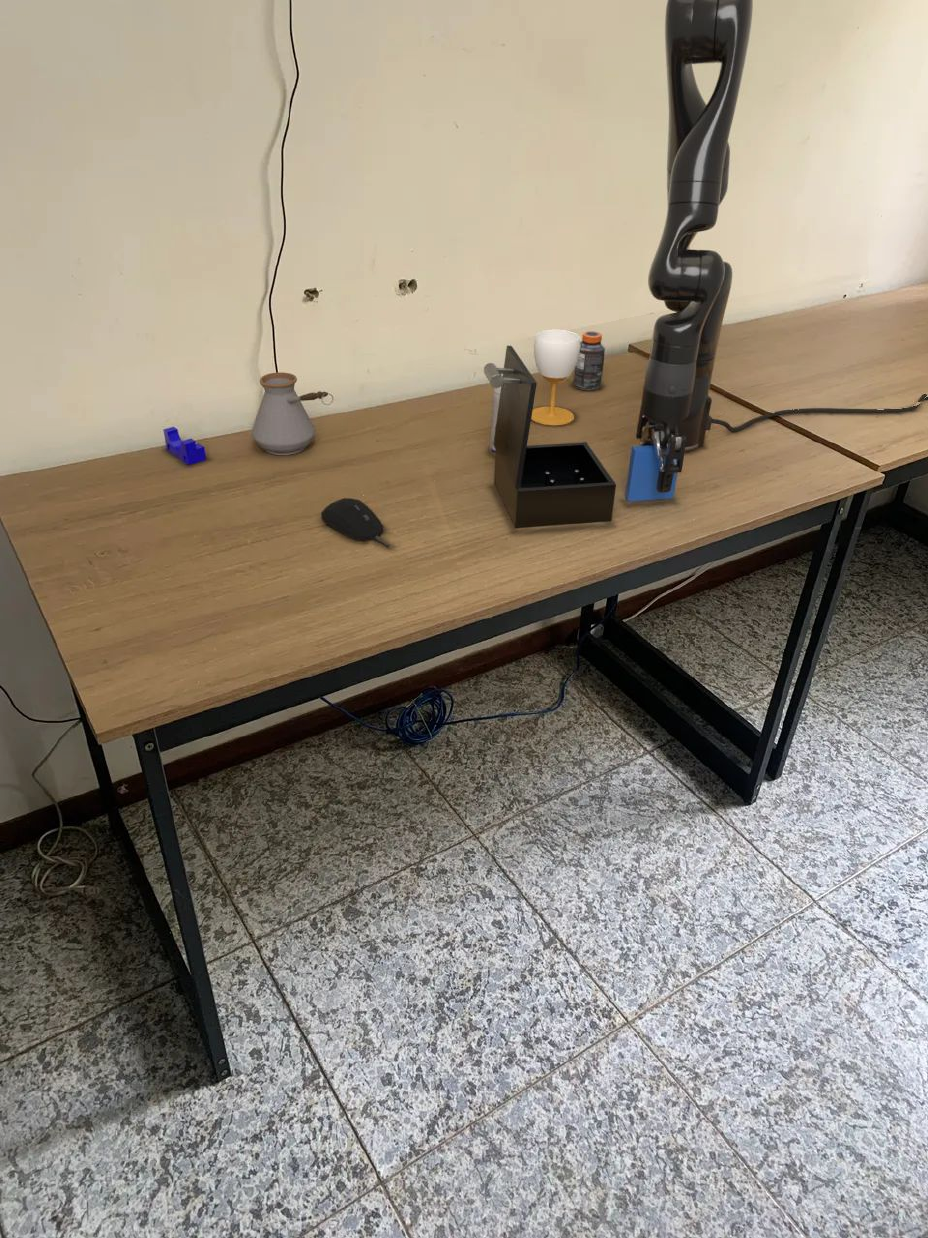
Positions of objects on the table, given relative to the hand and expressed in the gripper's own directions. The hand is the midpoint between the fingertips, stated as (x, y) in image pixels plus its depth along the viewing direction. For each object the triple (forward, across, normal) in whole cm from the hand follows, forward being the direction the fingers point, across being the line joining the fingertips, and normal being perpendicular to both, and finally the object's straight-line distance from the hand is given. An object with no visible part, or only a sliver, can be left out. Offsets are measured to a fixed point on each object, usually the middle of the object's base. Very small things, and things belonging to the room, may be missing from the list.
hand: (653, 479), depth 150 cm
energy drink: (+4, +22, +20) cm, 30 cm away
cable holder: (+4, +29, +77) cm, 82 cm away
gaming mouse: (+4, -2, +49) cm, 49 cm away
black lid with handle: (-12, +1, +24) cm, 27 cm away
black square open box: (+4, +1, +17) cm, 18 cm away
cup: (+4, +37, +7) cm, 38 cm away
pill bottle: (+4, +52, -5) cm, 52 cm away
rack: (+3, +1, +15) cm, 15 cm away
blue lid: (+4, 0, 0) cm, 4 cm away
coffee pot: (+4, +26, +57) cm, 63 cm away
